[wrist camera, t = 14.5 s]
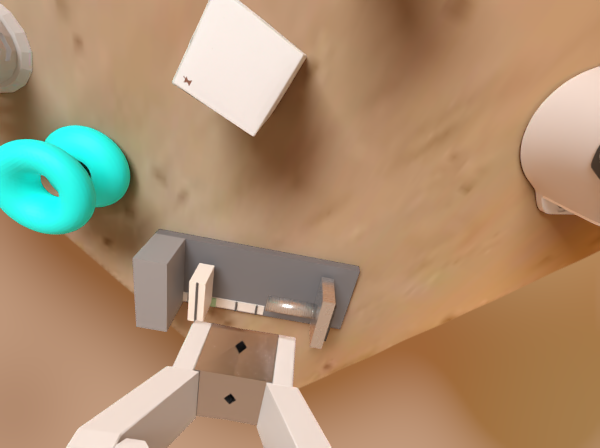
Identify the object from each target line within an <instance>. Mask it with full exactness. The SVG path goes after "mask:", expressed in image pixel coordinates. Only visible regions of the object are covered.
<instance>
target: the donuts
mask: <svg viewBox="0 0 600 448" xmlns="http://www.w3.org/2000/svg"><path fill="white" fill-rule="evenodd" d="M77 160H78V161H80V162H82V163H83V164H85V165H86V166H87V168H88V169H89V171H90V173H91V178H90V176H89V174H88V173H87V171H86V170H85V168H84V167H83V166H82V165H81V164H80V163H79V162H78V161H77ZM41 175H43V176H45V177H46V178H47V179H48V181H49V182H50V184H51V185H52V186H53V187H54V189H55V190H56V191H58V193H59V197H57V196H54V195H52V194H50V193H49V192H48V191H47V190H46V189H45V188H44V187H43V185H42V183H41ZM129 183H130V169H129V165H128V162H127V160H126V157H125V155H124V154H123V152H122V151H121V149H120V148H119V147H118V146H117V145H116V144H115V143H114V142H113V141H112V140H111V139H110V138H109V137H107V136H106V135H104V134H103V133H101V132H99V131H97V130H95V129H92V128H89V127H85V126H76V125H73V126H66V127H62V128H59V129H57V130H55V131H54V132H52V133H51V134H50V135H49V136H48V137H47V138H46V140H45V142H44V141H39V140H33V139H20V140H14V141H11V142H8V143H5V144H3V145H2V146H0V208H1V209H2V210H3V211H4V212H5V213H6V214H7V215H8V216H9V217H11V218H12V219H13V220H15V221H16V222H18V223H19V224H21V225H23V226H25V227H27V228H29V229H31V230H34V231H37V232H40V233H45V234H66V233H70V232H73V231H76V230H78V229H79V228H81V227H82V226H84V225H85V224H86V223H87V222H88V221H89V220H90V218H91V217H92V215H93V213H94V210H95V207H105V206H108V205H111V204H114V203H115V202H117V201H118V200H120V199H121V198H122V197H123V196H124V194H125V193H126V191H127V189H128V187H129Z"/></svg>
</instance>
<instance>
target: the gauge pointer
mask: <svg viewBox="0 0 600 448" xmlns="http://www.w3.org/2000/svg"><path fill="white" fill-rule="evenodd" d="M213 278H214V265H208V264H203V263H199V265H198V267H197V269H196V270H195V272H194V274H193V276H192V277H191V279H190V281H189V300H188V320H190V321H195V320H198V321H204V319H205V316H206V314H207V312H208V309H209V307H210V304H211V301H212V289H213Z"/></svg>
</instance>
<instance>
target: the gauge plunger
mask: <svg viewBox="0 0 600 448" xmlns="http://www.w3.org/2000/svg"><path fill="white" fill-rule="evenodd" d="M336 308H337V306H336V295H335V288H334V279H330V278H325V277H322V279H321V283H320V287H319V290H318V294H317V297H316V301H315V304H313V303H308V302H302V301H297V300H291V299H286V298H280V297H275V296H269V295H268V297H267V302H266V307H265V311H271V312H277V313H282V314H288V315H294V316H299V317H305V318H311V319H310V347H313V348H319V349H321V348H322V345H323V342H324V341H326V339H327V336H328V333H329V330H330V327H331V324H332V321H333V317H334V314H335V311H336Z"/></svg>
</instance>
